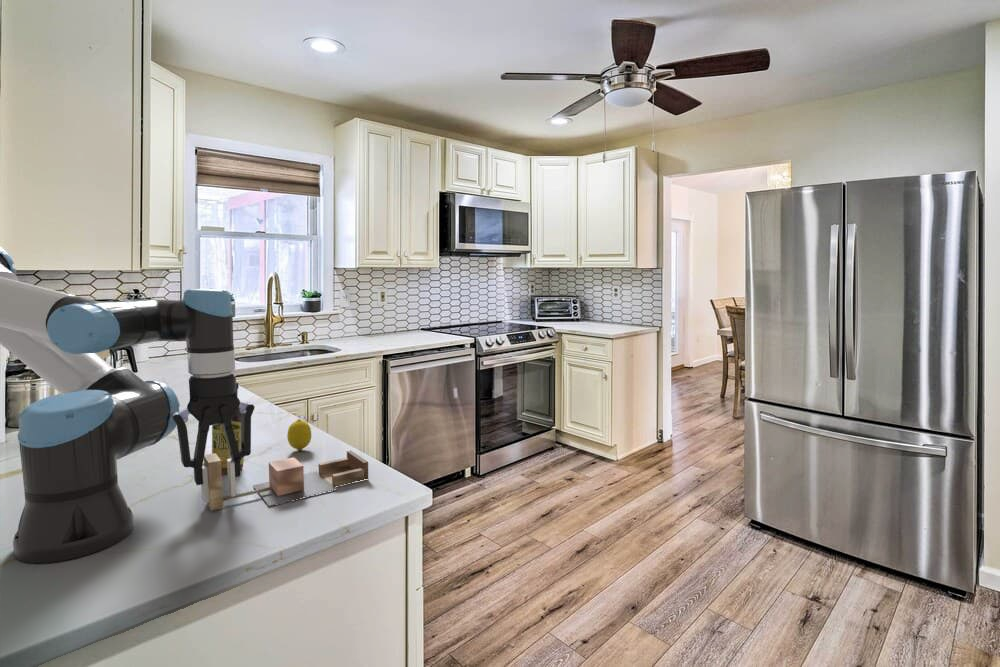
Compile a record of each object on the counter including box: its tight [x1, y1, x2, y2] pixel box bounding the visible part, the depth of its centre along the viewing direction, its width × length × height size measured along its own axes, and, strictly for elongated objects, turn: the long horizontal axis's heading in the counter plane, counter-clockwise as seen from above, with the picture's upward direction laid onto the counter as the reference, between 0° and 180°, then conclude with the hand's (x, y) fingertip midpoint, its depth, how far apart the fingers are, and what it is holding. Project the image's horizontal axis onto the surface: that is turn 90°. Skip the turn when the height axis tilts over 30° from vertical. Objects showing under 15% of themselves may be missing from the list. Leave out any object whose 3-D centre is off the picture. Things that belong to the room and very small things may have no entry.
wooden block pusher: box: [203, 453, 305, 512], centre depth 101 cm, size 16×6×9 cm, turn 128°
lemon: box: [286, 418, 312, 452], centre depth 129 cm, size 6×6×8 cm
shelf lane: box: [252, 449, 369, 507], centre depth 109 cm, size 20×12×4 cm, turn 128°
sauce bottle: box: [211, 381, 245, 475], centre depth 115 cm, size 6×6×20 cm
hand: (219, 496), depth 98 cm, fingers closed on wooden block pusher, 4 cm apart
